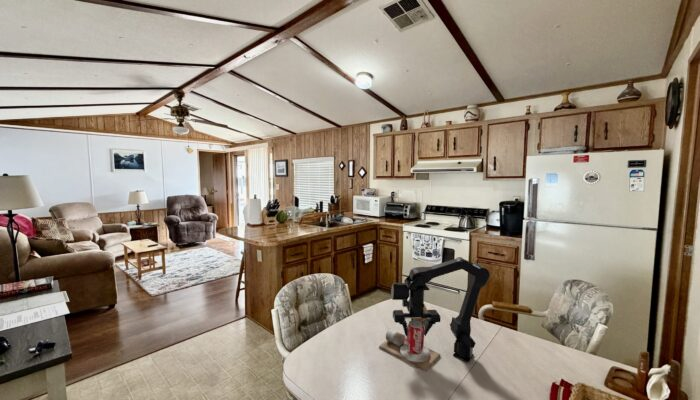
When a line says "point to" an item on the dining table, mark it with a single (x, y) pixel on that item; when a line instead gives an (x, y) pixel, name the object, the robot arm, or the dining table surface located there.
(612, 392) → the dining table surface
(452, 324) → the robot arm
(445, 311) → the dining table surface
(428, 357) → the duct board
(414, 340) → the soda can
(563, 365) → the dining table surface
